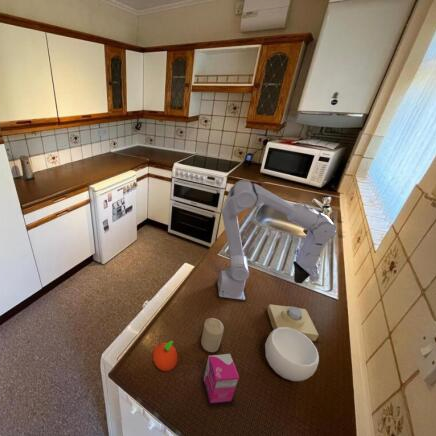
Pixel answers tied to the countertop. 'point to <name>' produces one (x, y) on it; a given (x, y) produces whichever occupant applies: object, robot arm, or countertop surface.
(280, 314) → the square plate with button
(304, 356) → the white bowl
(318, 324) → the countertop surface
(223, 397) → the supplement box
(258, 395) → the countertop surface
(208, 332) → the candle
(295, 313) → the grey pebble
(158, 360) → the clementine
